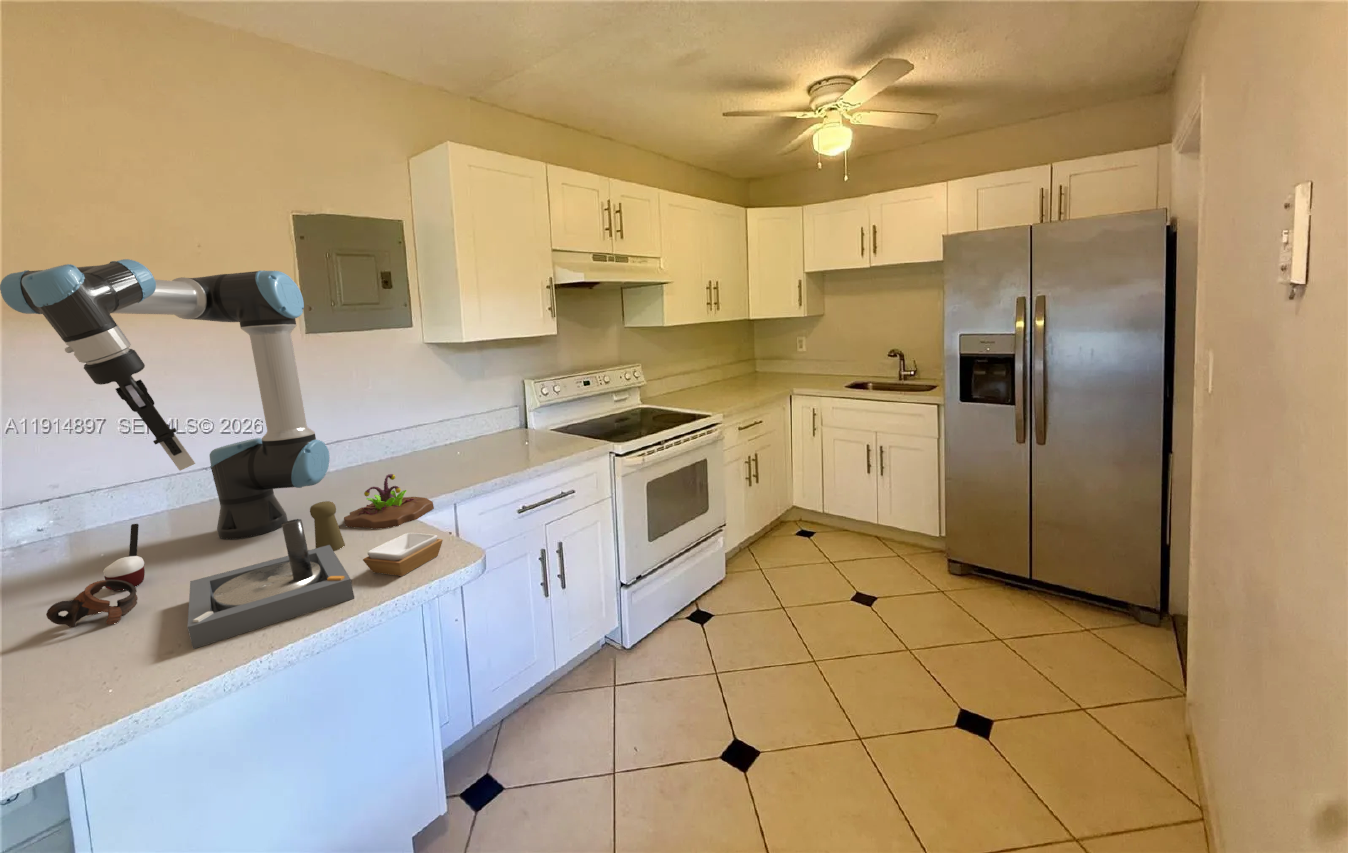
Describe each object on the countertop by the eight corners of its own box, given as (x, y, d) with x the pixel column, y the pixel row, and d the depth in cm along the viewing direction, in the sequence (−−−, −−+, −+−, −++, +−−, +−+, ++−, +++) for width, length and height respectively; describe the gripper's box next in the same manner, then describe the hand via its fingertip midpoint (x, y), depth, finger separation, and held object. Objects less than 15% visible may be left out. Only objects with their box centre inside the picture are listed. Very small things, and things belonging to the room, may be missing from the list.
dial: (192, 616, 107) (174, 546, 104) (255, 574, 123) (241, 513, 121) (289, 607, 107) (274, 538, 104) (338, 567, 124) (326, 506, 121)
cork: (332, 553, 137) (323, 507, 135) (309, 553, 138) (299, 507, 136) (351, 543, 143) (342, 498, 140) (329, 542, 144) (320, 498, 142)
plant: (447, 506, 167) (441, 466, 165) (392, 532, 149) (384, 488, 147) (392, 502, 174) (385, 465, 172) (333, 527, 156) (325, 485, 154)
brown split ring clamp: (116, 607, 119) (129, 571, 117) (138, 636, 115) (151, 600, 114) (32, 622, 108) (45, 583, 106) (53, 655, 104) (66, 615, 103)
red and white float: (112, 599, 122) (94, 545, 119) (95, 594, 125) (78, 541, 122) (166, 577, 130) (150, 525, 127) (149, 573, 133) (134, 522, 130)
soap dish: (402, 580, 120) (398, 556, 119) (364, 576, 123) (360, 552, 122) (445, 555, 131) (442, 533, 130) (410, 551, 135) (406, 530, 134)
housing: (194, 599, 118) (189, 579, 117) (333, 561, 132) (329, 543, 131) (193, 649, 99) (186, 625, 98) (354, 598, 113) (350, 576, 112)
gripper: (79, 359, 108) (160, 467, 120) (82, 371, 99) (169, 486, 111) (129, 342, 112) (202, 448, 124) (136, 352, 104) (214, 465, 115)
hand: (187, 466), depth 117 cm, fingers closed
